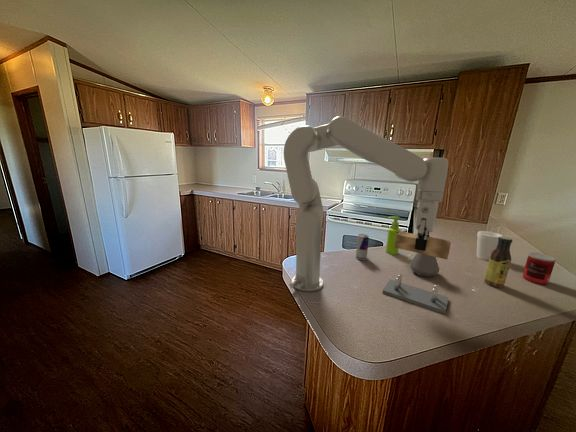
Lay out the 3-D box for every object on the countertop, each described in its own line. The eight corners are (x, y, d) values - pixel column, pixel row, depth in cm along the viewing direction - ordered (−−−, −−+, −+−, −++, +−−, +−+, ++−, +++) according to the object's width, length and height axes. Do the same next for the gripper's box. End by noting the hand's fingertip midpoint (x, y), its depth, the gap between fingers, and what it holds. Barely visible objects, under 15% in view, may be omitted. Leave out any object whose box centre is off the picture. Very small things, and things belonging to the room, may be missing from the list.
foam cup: (498, 263, 114) (504, 238, 111) (474, 259, 118) (480, 234, 115) (493, 256, 122) (499, 232, 119) (471, 252, 126) (476, 230, 123)
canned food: (540, 277, 101) (547, 253, 98) (553, 286, 93) (561, 261, 91) (517, 274, 103) (524, 251, 100) (529, 283, 96) (536, 258, 93)
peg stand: (445, 314, 76) (448, 298, 75) (382, 292, 88) (384, 278, 87) (447, 299, 84) (450, 285, 83) (389, 282, 96) (391, 268, 94)
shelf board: (394, 247, 85) (396, 234, 83) (398, 243, 88) (399, 231, 87) (447, 259, 75) (449, 245, 74) (448, 254, 79) (451, 240, 78)
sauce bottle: (499, 289, 91) (511, 242, 86) (480, 282, 96) (491, 236, 91) (507, 285, 94) (519, 239, 89) (488, 278, 99) (499, 234, 94)
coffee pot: (443, 274, 102) (449, 242, 99) (429, 281, 97) (435, 247, 93) (399, 257, 120) (403, 229, 116) (384, 262, 114) (388, 233, 110)
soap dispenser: (382, 250, 128) (386, 215, 124) (394, 250, 129) (398, 215, 124) (387, 254, 123) (391, 218, 118) (399, 254, 123) (404, 218, 118)
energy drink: (367, 260, 116) (369, 237, 113) (356, 259, 117) (358, 236, 114) (366, 256, 121) (368, 234, 118) (355, 255, 122) (357, 233, 119)
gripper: (440, 200, 68) (430, 258, 73) (445, 194, 81) (436, 242, 86) (411, 198, 73) (404, 252, 77) (420, 192, 86) (414, 238, 90)
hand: (421, 246), depth 81 cm, fingers closed on shelf board, 5 cm apart
